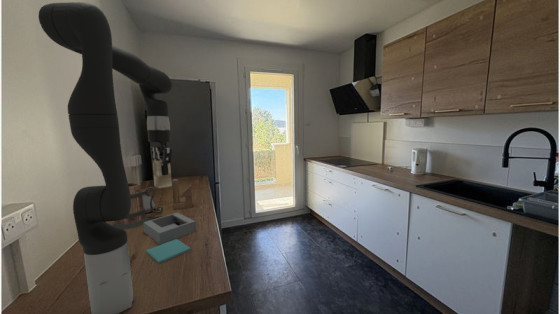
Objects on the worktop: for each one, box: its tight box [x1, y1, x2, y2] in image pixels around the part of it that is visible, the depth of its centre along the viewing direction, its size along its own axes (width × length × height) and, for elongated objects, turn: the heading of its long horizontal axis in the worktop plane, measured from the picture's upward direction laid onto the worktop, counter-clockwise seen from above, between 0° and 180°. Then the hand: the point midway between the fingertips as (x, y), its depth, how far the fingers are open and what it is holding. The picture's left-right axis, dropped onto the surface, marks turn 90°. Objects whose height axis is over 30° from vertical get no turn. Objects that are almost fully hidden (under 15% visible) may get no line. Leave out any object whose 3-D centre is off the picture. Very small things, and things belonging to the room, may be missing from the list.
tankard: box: [111, 182, 164, 231], centre depth 118 cm, size 24×17×20 cm
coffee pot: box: [141, 181, 156, 214], centre depth 138 cm, size 21×12×15 cm, turn 20°
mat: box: [145, 238, 192, 264], centre depth 89 cm, size 12×12×1 cm
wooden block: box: [171, 178, 193, 211], centre depth 138 cm, size 4×11×18 cm, turn 111°
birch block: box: [152, 160, 172, 189], centre depth 86 cm, size 4×4×10 cm
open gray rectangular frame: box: [143, 212, 197, 245], centre depth 106 cm, size 18×16×5 cm
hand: (162, 174), depth 86 cm, fingers closed on birch block, 4 cm apart
